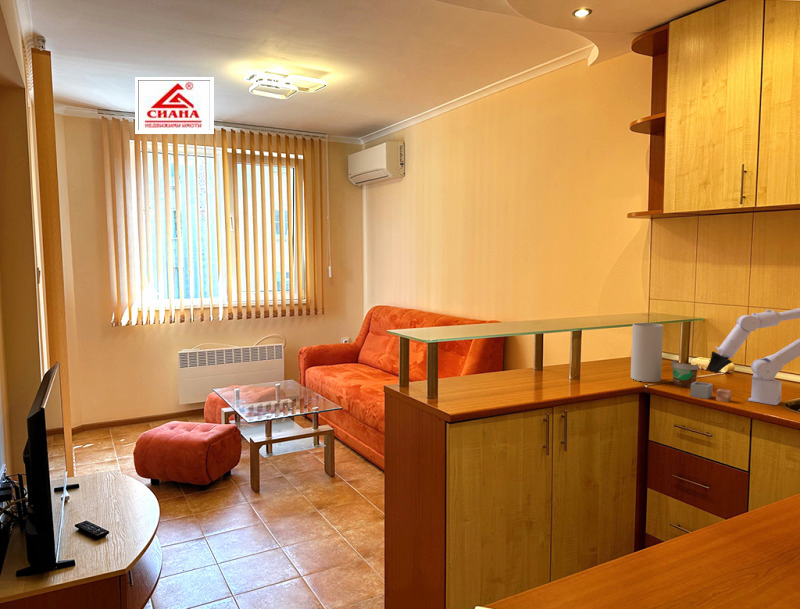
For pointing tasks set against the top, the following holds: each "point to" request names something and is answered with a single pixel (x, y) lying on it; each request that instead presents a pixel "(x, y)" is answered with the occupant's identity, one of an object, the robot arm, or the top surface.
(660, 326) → the cylinder vase
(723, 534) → the top surface
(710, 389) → the socket base
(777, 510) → the top surface
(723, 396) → the terracotta cube
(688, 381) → the food container
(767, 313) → the robot arm
